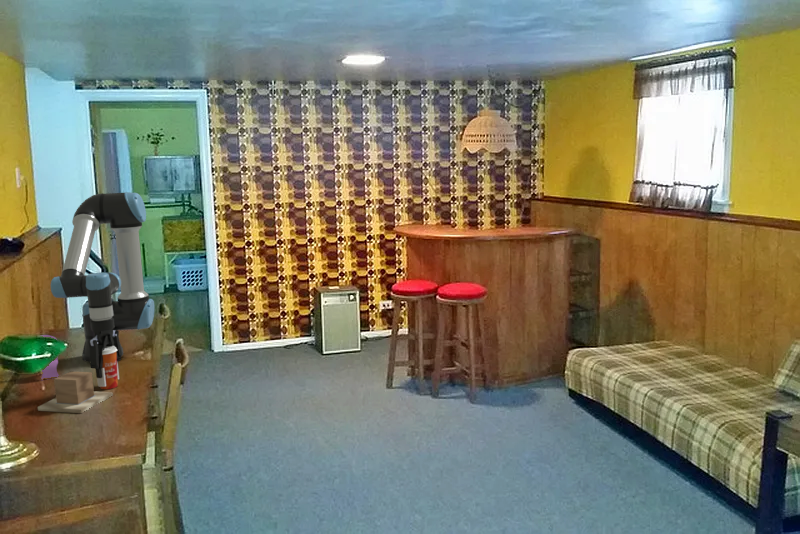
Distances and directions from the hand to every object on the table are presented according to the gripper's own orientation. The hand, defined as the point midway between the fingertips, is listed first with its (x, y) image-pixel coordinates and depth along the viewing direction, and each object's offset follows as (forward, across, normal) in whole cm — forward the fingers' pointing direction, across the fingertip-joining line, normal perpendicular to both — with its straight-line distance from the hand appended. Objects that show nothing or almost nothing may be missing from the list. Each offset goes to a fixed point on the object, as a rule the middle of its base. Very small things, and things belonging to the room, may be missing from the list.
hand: (108, 382), depth 252 cm
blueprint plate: (+2, +16, -1) cm, 16 cm away
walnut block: (0, +16, -1) cm, 16 cm away
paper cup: (+2, 0, 0) cm, 2 cm away
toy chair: (+2, -8, -31) cm, 32 cm away
